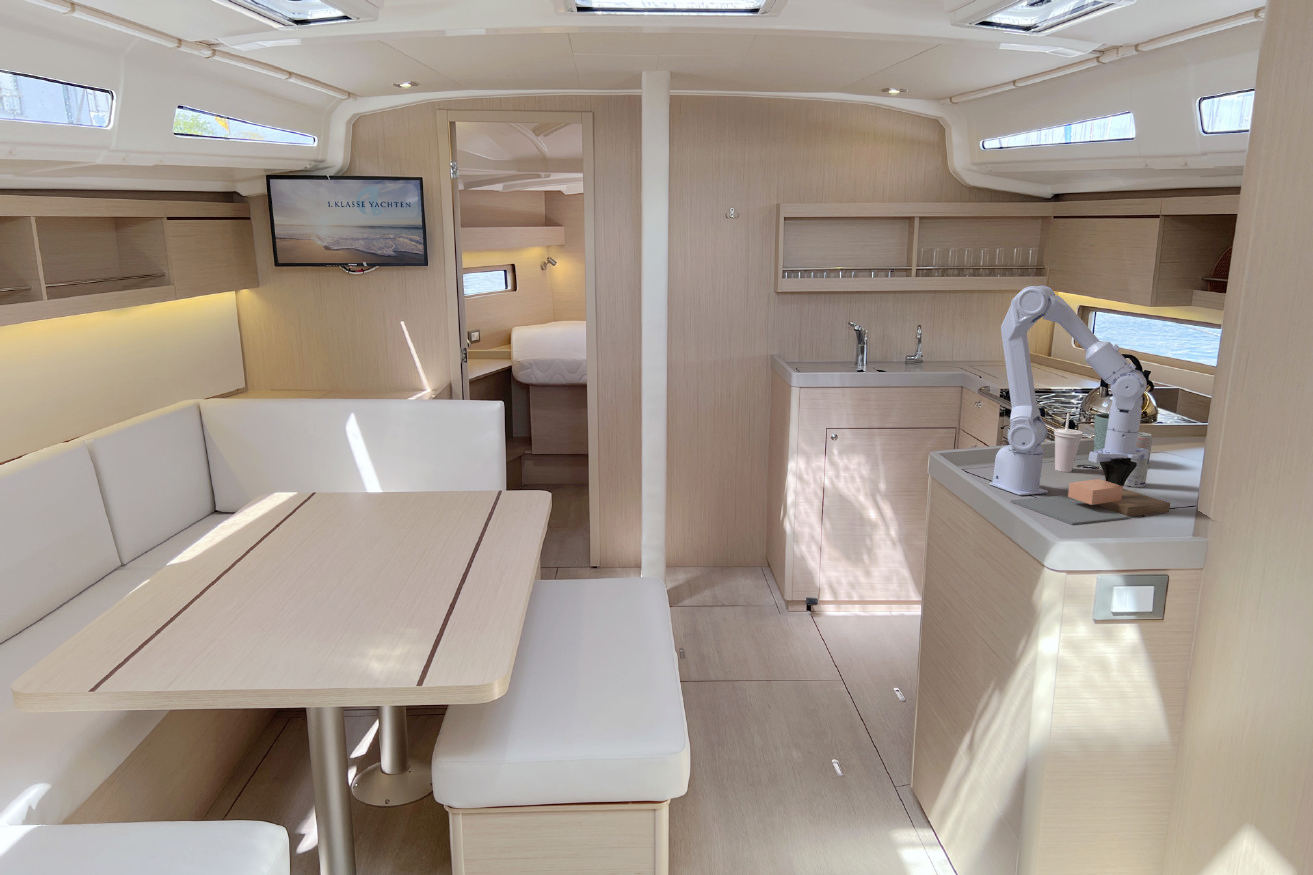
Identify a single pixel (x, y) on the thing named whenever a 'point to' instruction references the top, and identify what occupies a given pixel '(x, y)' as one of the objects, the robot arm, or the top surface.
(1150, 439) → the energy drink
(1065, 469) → the smoothie
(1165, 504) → the brown wooden board
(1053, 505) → the mat
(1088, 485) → the block
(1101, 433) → the green plant pot
